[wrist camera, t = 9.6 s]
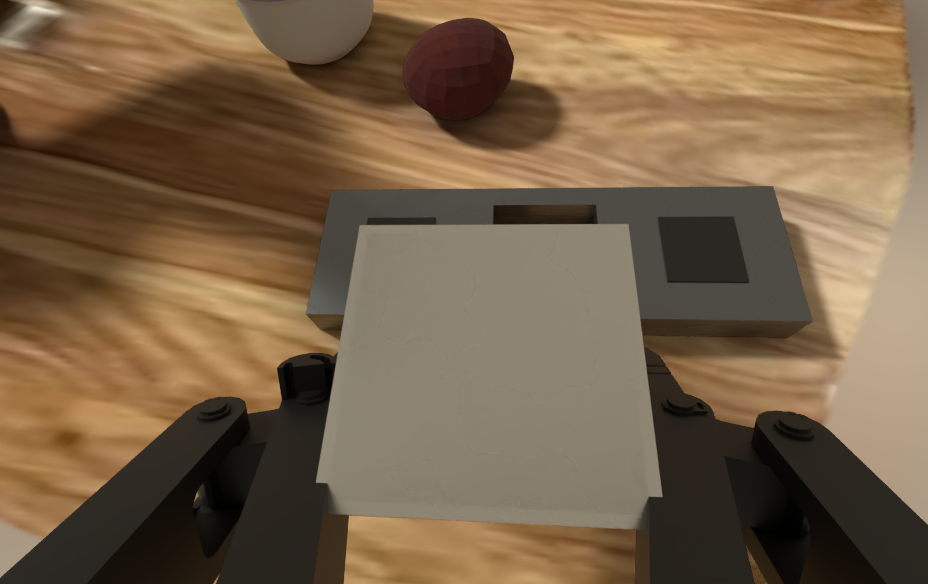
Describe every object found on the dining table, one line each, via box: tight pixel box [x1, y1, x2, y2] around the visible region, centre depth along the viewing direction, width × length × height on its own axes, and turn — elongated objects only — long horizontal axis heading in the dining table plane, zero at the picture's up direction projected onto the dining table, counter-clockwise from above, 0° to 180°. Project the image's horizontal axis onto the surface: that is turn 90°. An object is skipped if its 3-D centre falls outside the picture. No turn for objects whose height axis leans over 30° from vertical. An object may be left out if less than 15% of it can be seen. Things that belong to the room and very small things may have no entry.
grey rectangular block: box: [316, 224, 663, 530], centre depth 14 cm, size 5×5×12 cm
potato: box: [403, 18, 514, 120], centre depth 36 cm, size 7×8×6 cm
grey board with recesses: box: [306, 186, 812, 338], centre depth 30 cm, size 28×9×3 cm, turn 87°
